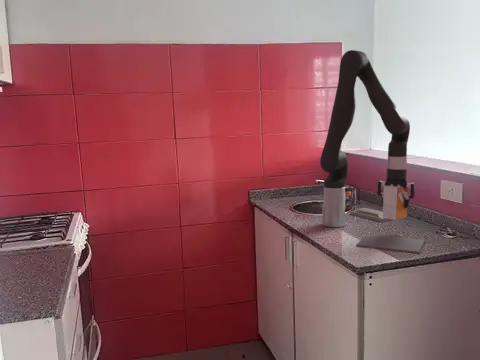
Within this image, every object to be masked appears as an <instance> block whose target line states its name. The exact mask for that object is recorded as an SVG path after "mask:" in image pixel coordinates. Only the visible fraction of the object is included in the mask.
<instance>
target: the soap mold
mask: <svg viewBox="0 0 480 360" xmlns="http://www.w3.org/2000/svg"><path fill="white" fill-rule="evenodd" d="M349 215H351V216H356V217H359V218H363V219H367V220H370V221H374V222H379V223H383V222H390V221H394V220H393V219H388V218H384V217H383V210H382V211H381V210H377V209H373V208H367V207H360V208H358V209H356V210H352V211H350V214H349Z"/></svg>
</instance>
